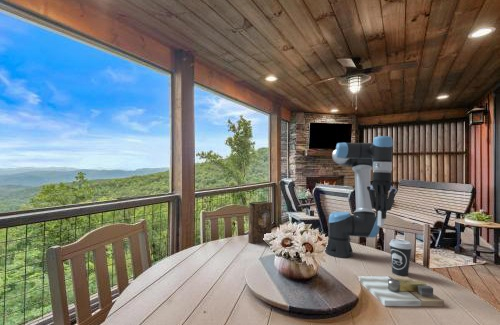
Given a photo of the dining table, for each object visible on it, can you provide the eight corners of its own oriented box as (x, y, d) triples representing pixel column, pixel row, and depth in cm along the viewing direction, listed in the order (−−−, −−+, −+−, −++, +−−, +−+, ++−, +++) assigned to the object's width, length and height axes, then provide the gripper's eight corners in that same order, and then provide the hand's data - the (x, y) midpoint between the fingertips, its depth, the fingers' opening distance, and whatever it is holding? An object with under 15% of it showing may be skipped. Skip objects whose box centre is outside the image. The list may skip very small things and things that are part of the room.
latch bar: (420, 286, 103) (420, 278, 103) (428, 291, 99) (428, 283, 99) (385, 286, 102) (386, 278, 102) (392, 291, 98) (392, 283, 98)
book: (252, 244, 160) (253, 204, 160) (246, 242, 164) (248, 202, 164) (271, 239, 171) (272, 202, 171) (265, 237, 175) (266, 201, 175)
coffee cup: (415, 278, 116) (416, 245, 117) (392, 276, 118) (393, 243, 119) (407, 270, 126) (407, 239, 126) (385, 268, 128) (386, 237, 128)
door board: (358, 280, 113) (358, 269, 113) (407, 281, 114) (407, 269, 114) (384, 306, 93) (384, 292, 93) (443, 306, 94) (443, 292, 94)
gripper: (363, 171, 116) (362, 223, 116) (392, 172, 105) (390, 230, 105) (373, 171, 120) (371, 221, 120) (402, 172, 109) (400, 228, 109)
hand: (380, 225), depth 113 cm, fingers closed
